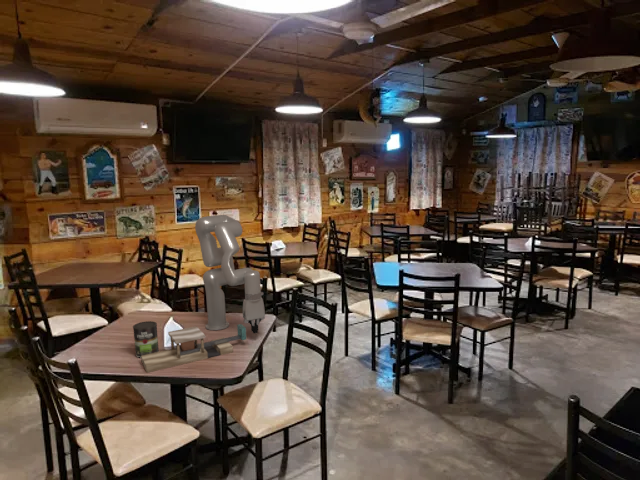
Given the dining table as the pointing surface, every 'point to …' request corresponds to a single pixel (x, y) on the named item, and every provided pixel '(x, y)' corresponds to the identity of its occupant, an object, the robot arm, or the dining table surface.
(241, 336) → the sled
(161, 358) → the tunnel
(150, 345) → the coffee can
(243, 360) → the dining table surface
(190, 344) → the block
